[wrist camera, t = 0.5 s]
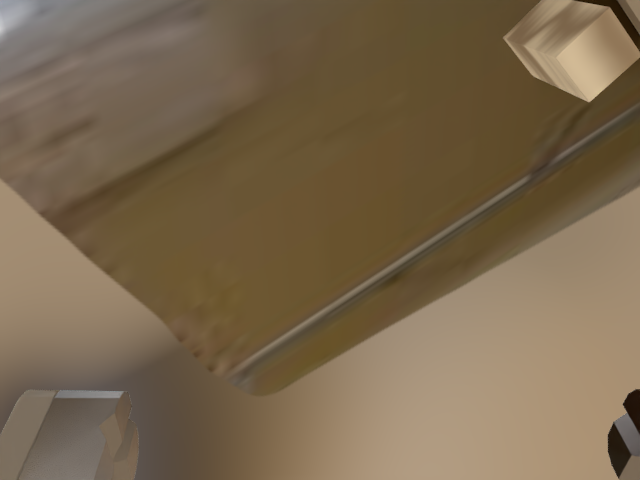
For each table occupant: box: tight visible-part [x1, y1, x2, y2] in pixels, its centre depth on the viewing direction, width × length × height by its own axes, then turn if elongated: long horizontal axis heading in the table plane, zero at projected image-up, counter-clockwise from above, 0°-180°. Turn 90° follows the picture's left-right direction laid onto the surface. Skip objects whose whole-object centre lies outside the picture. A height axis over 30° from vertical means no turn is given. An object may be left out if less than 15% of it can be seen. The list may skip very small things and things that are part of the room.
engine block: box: [503, 0, 640, 102], centre depth 49 cm, size 5×5×10 cm
